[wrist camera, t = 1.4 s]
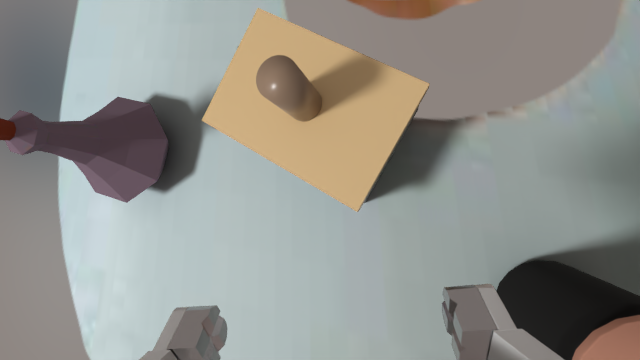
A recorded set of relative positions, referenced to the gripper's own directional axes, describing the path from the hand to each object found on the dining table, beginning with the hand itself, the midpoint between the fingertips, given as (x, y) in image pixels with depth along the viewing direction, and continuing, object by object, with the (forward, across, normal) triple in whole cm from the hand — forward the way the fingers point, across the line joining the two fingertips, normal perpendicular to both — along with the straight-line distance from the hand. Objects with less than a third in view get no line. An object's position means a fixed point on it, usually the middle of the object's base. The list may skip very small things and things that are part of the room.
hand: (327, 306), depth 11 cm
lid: (+29, +3, +2) cm, 29 cm away
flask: (+38, +32, +8) cm, 50 cm away
